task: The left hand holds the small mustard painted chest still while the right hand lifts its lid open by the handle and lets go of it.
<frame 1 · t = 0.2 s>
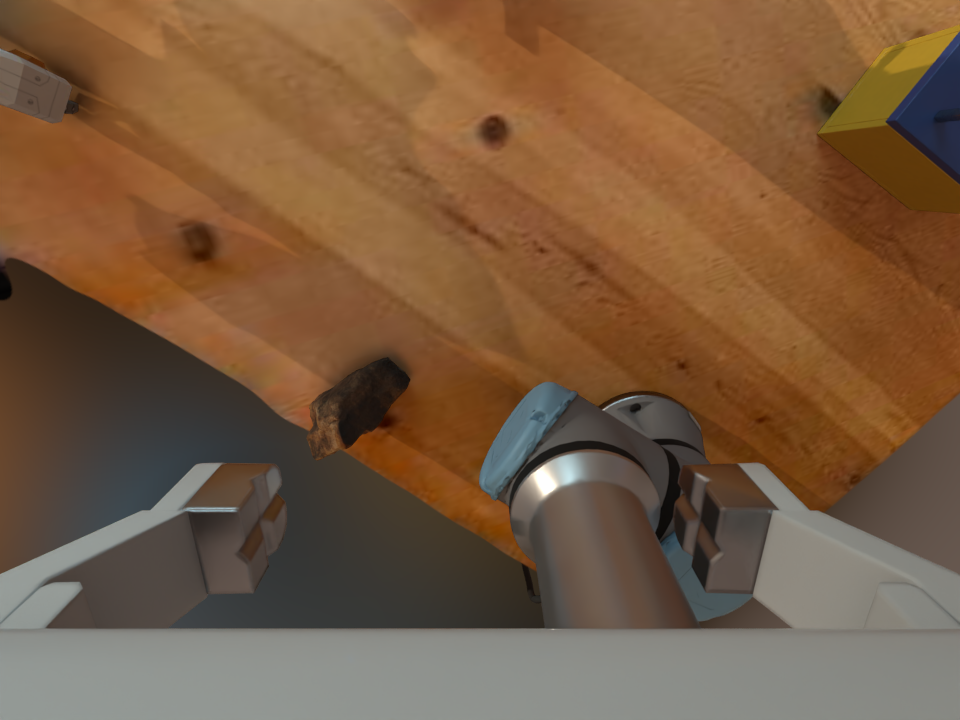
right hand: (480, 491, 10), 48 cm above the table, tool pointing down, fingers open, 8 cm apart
decorative rock: (364, 389, 62), on the table
chest: (897, 133, 52), on the table
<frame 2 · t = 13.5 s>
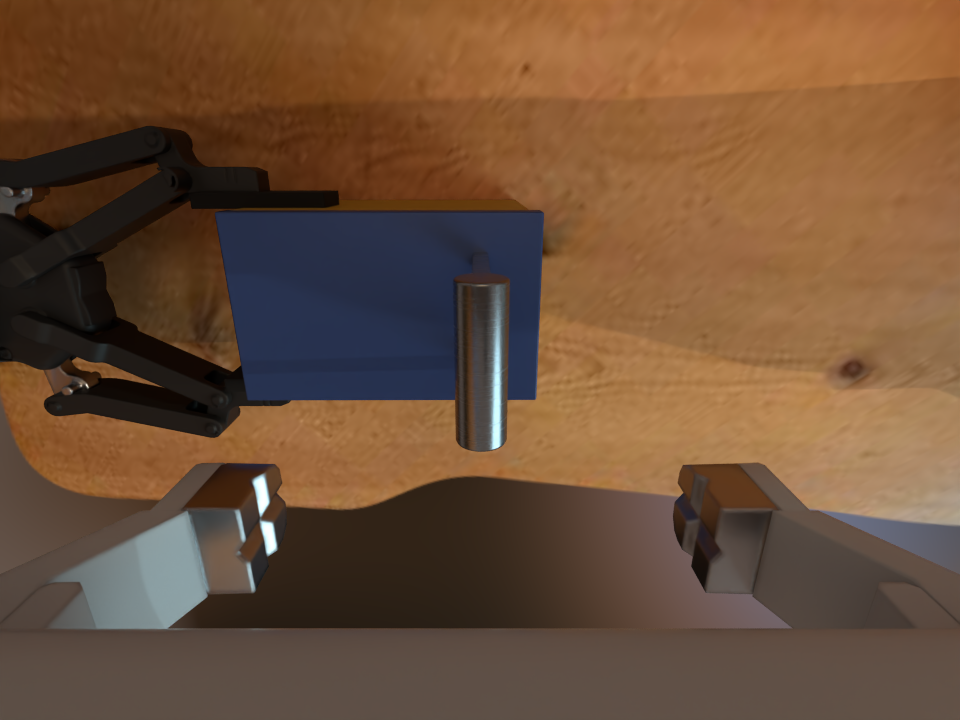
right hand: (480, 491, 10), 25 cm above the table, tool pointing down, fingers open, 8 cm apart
left hand: (340, 293, 28), fingers closed on chest, 9 cm apart
lid: (372, 333, 21), point 14 cm above the table, hinge at 0.0°
chest: (410, 270, 34), on the table, touching left hand
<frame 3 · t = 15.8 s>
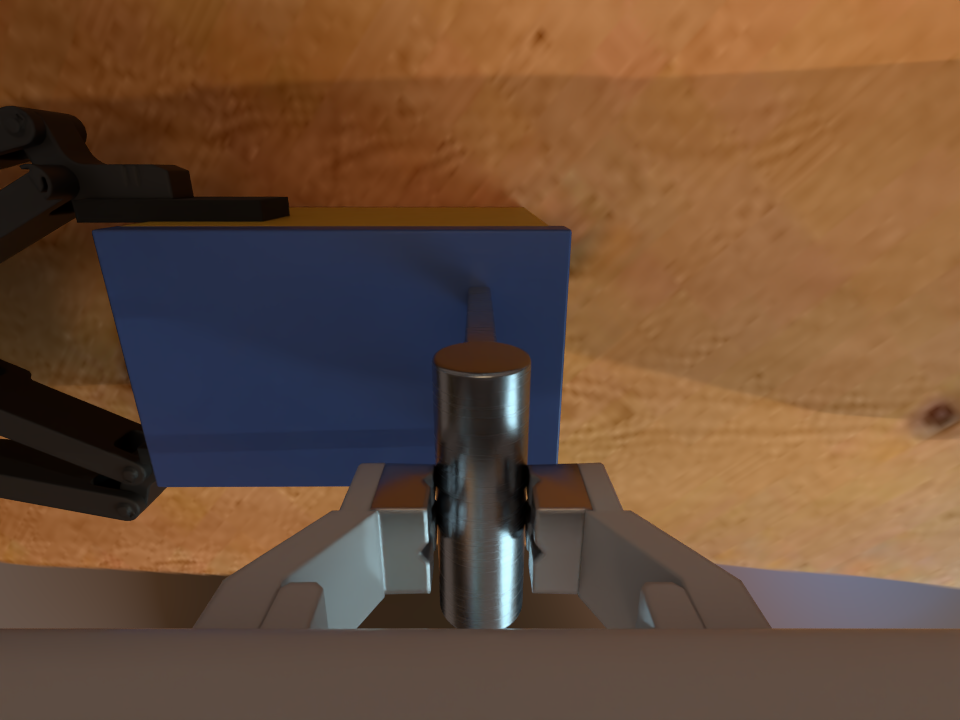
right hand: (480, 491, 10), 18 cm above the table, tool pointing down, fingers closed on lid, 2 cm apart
left hand: (292, 333, 21), fingers closed on chest, 9 cm apart
lid: (316, 414, 14), point 14 cm above the table, hinge at -0.1°, touching right hand
chest: (391, 295, 27), on the table, touching left hand
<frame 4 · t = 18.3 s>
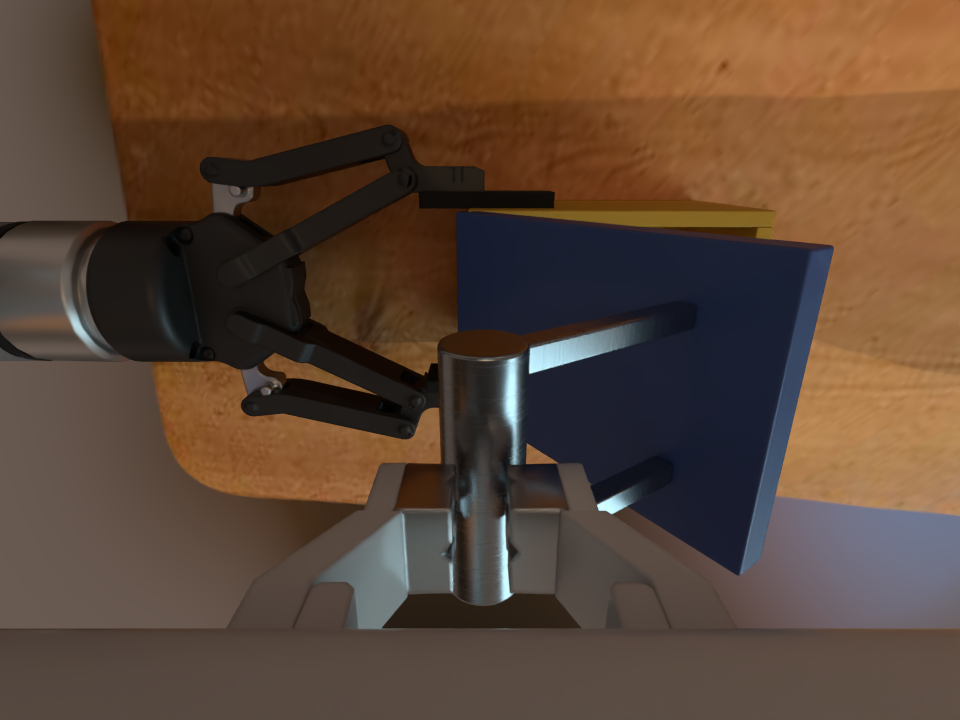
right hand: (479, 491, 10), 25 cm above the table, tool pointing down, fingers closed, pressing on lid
left hand: (546, 294, 27), fingers closed on chest, 9 cm apart
lid: (492, 374, 16), point 18 cm above the table, hinge at 53.8°, touching right hand
chest: (579, 271, 34), on the table, touching left hand
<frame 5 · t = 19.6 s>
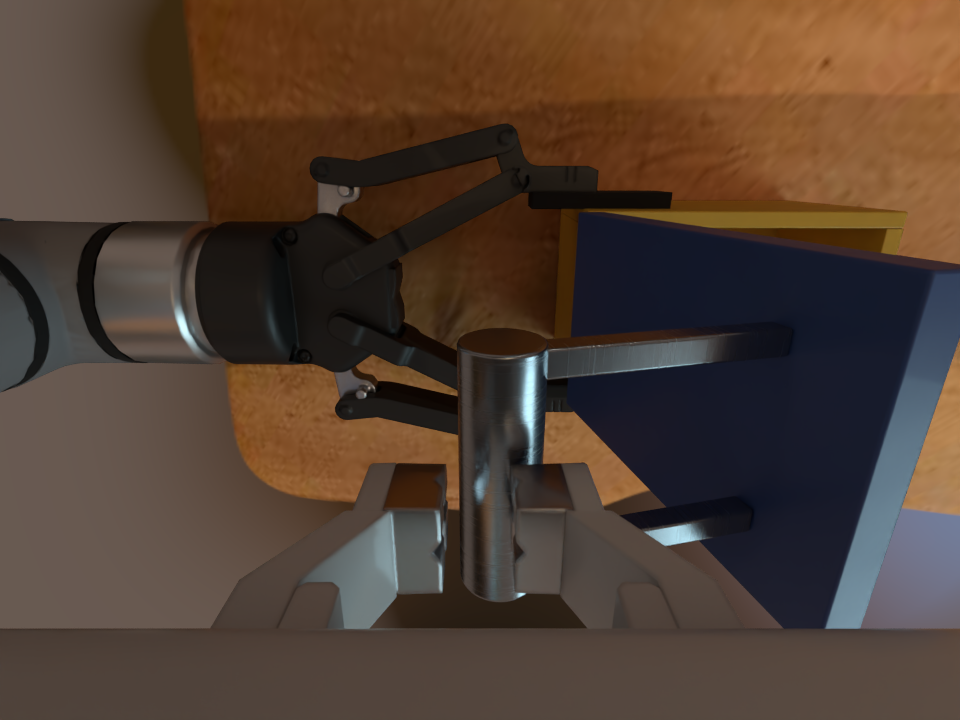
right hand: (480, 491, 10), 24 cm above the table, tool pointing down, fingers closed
left hand: (650, 296, 27), fingers closed on chest, 9 cm apart
lid: (568, 378, 16), point 18 cm above the table, hinge at 74.3°, touching right hand
chest: (664, 273, 33), on the table, touching left hand
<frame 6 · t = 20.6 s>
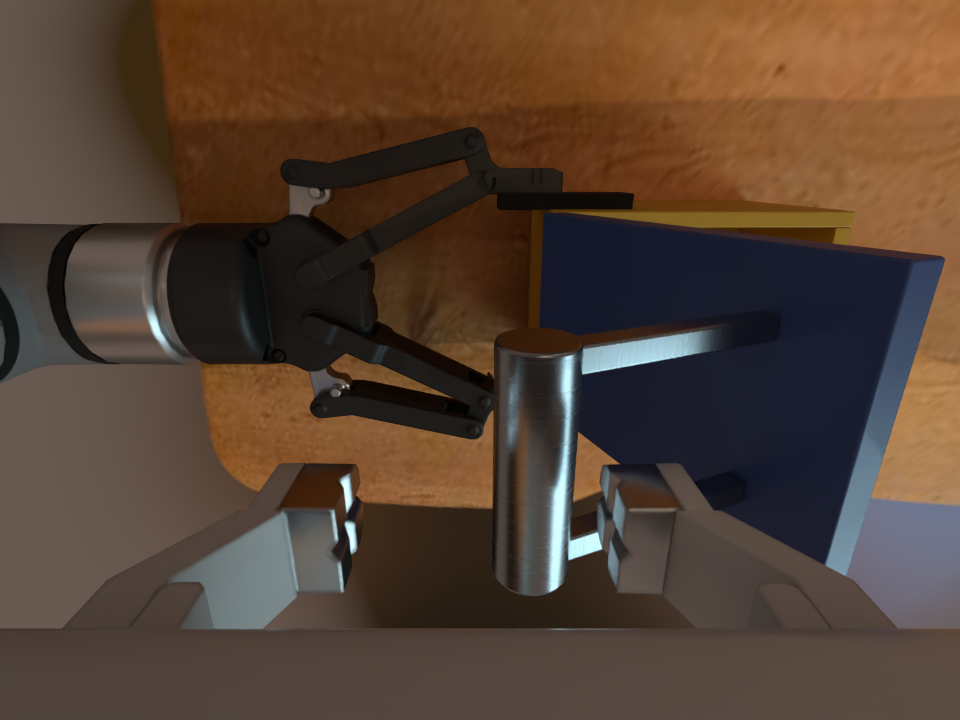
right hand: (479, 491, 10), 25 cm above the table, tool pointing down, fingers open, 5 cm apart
left hand: (616, 294, 28), fingers closed on chest, 9 cm apart
lid: (562, 374, 17), point 19 cm above the table, hinge at 66.5°
chest: (633, 271, 34), on the table, touching left hand
when the left hand's fingers open (7 cm above the table, at t = 23.7 s): chest stays where it is, on the table.
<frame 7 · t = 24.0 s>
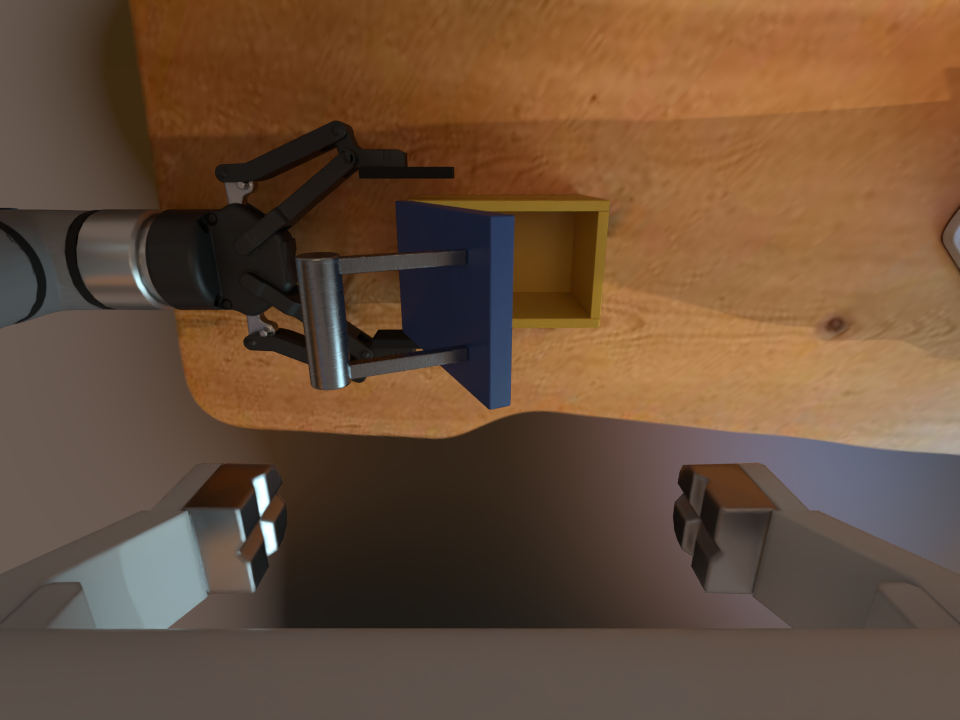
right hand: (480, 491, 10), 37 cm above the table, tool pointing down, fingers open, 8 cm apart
left hand: (455, 260, 39), fingers open, 12 cm apart
lid: (378, 294, 28), point 19 cm above the table, hinge at 65.1°
chest: (501, 248, 45), on the table
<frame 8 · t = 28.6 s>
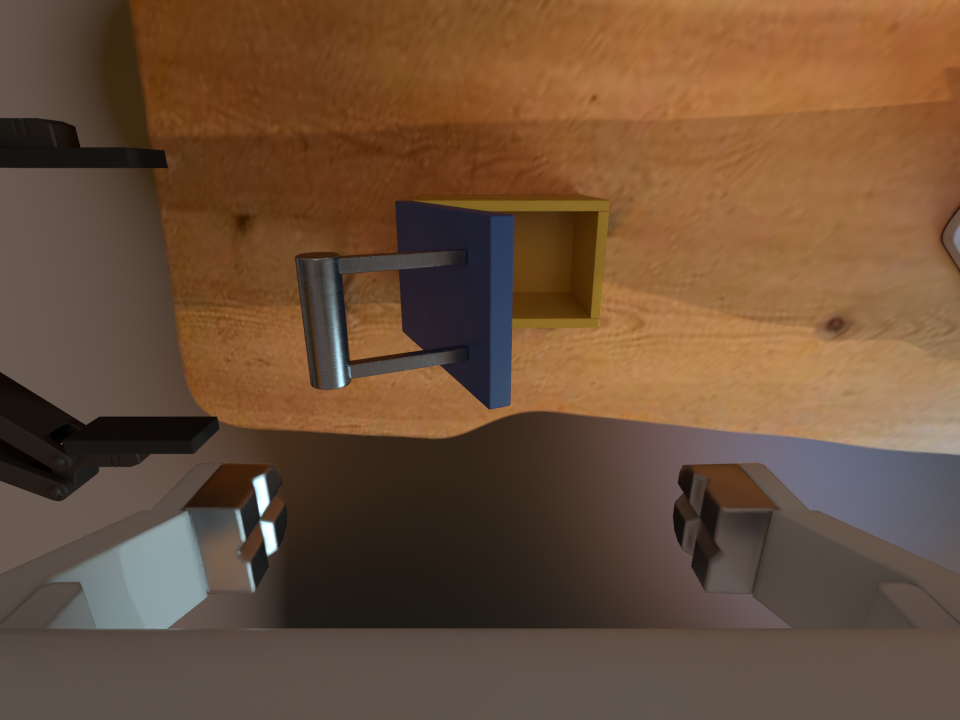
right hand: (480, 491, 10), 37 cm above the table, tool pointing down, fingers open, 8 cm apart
lid: (378, 294, 28), point 19 cm above the table, hinge at 65.1°
chest: (501, 248, 45), on the table
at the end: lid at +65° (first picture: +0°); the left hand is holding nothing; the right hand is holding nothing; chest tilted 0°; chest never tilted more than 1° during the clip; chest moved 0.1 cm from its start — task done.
